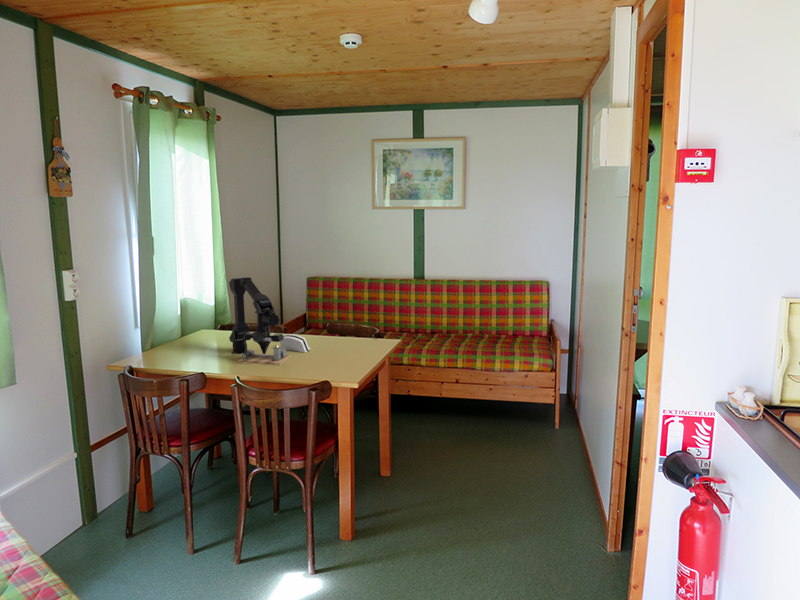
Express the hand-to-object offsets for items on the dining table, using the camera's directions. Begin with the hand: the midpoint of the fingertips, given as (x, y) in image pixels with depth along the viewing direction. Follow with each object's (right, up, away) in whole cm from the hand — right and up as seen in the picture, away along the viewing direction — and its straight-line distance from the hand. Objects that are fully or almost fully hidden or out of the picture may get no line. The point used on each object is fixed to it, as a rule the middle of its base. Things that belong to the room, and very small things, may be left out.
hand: (264, 353), depth 279 cm
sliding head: (+7, -2, +1) cm, 8 cm away
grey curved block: (+11, -1, +23) cm, 25 cm away
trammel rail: (-1, -2, +3) cm, 4 cm away
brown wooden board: (-1, -3, +3) cm, 5 cm away
